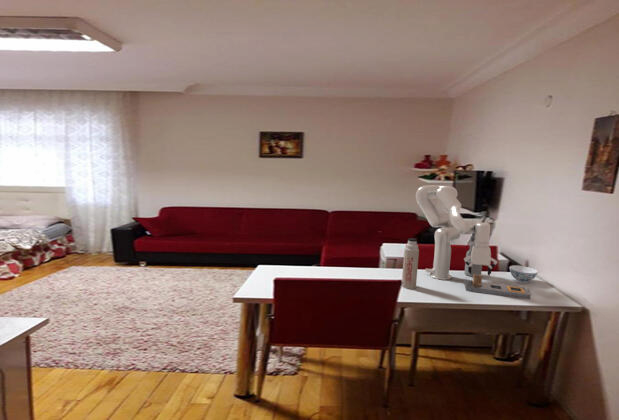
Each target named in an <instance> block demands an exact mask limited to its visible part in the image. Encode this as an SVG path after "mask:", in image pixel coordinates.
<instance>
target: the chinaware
mask: <svg viewBox="0 0 619 420" xmlns="http://www.w3.org/2000/svg"><path fill="white" fill-rule="evenodd" d="M509 273H510V274H511V277H513V278H514V279H515V281H516V282H517V283H520V284H528V283H529V282H531V281H533V280H534V279H535V278H536V277H537V275H538V273H539V272H538V270H537V269H535V268H532V267H528V266H523V265H510V266H509Z"/></svg>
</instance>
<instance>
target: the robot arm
mask: <svg viewBox="0 0 619 420" xmlns="http://www.w3.org/2000/svg"><path fill="white" fill-rule="evenodd" d="M457 197H458V191H457V189H456V188H455V187H454V186H448V185H447V186H446V185H437V184H436V185H435V184H434V185H432V184H430V185H422V186H420V187H418V189H417V190H416V192H415V201H416V203H417V205H418V206H419V208H420V209H421V211H422V212H423V215H424V217H425V218H426V220H427V222H428V223H429V225H430V226H431V227H432V228H437V229H436V230H435V232H434V254H433V255H434V256H433V257H434V258H433V264H432V266H433V267H432V268H427V267H426V268H425V269H424V270H425V272H427V273H430V274H429V276H430V277H432V278H433V279H435V280H436V279H437V280H442V281H444V280H445V281H448V280H451V279H452V275H450V265H451V256H452V255H451V254H452V247H451V246H452V245H451V242H455V241H457V240H459V239H460V237H461V235H464V236H465V235H472V234H473V233H475V239H474V242H471V244H473V245H474V246H473V247H472V251H471V256H468V257H466V256H465V257H464V258H463V260H464V263H466V264H467V265H468V272H469V273H470V274H471V269H472V267H471V266H472V265H473V264H475V265H482V266H487V276H489V277H490V275H491V274H492V269H493V268H494V267H495V266H496V265H497V264H498V261H497V259H494V258H493V257H492V252H491V247H490V233H491V224H490V223H488V222H481V221H478V220H477V221H476V220H465V219H464V218H463V216H462V215H461V213H460V209H461V208H462V204H461V202H460V201H459V199H458V198H457ZM431 199H438V201H439V202H440V203H441V204H442V206H443V207H444V208H445V210H446V211H440V210H439V209H438V207H437V206H436V204H435V203H434V202H433V201H432V200H431ZM468 259H470V261H471V262H470V263H468V262H467V260H468ZM491 262H492V264H491Z"/></svg>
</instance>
